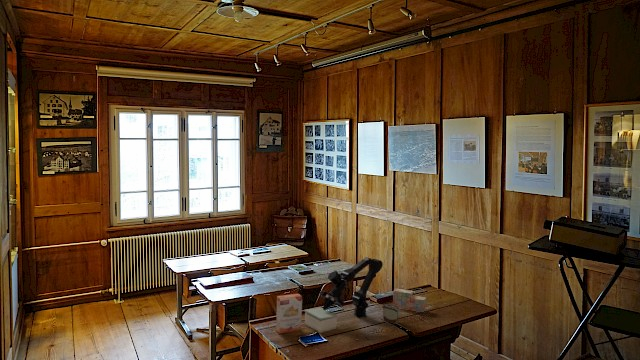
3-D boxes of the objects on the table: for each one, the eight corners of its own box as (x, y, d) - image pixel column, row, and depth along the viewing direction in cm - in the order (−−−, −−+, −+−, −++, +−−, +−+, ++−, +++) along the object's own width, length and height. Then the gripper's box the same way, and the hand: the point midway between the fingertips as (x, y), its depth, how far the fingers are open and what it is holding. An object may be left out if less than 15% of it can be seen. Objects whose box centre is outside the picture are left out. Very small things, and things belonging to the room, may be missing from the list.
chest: (320, 320, 286) (320, 309, 285) (336, 328, 273) (336, 317, 272) (304, 324, 279) (305, 312, 278) (320, 332, 266) (320, 321, 265)
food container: (403, 323, 283) (404, 307, 283) (398, 325, 279) (398, 309, 278) (387, 317, 292) (387, 302, 291) (381, 320, 287) (381, 304, 287)
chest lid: (320, 308, 285) (320, 307, 285) (336, 317, 272) (337, 315, 272) (304, 311, 278) (304, 310, 278) (320, 320, 265) (320, 318, 265)
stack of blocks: (426, 311, 306) (426, 293, 305) (423, 314, 300) (423, 295, 300) (395, 305, 316) (396, 287, 315) (392, 308, 311) (393, 290, 310)
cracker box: (279, 334, 262) (280, 298, 261) (275, 330, 268) (276, 295, 266) (301, 330, 268) (302, 295, 267) (297, 327, 274) (298, 292, 273)
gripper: (354, 300, 278) (340, 321, 272) (336, 292, 293) (322, 312, 288) (345, 289, 273) (330, 311, 267) (326, 282, 288) (312, 302, 282)
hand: (323, 309), depth 276 cm, fingers closed
